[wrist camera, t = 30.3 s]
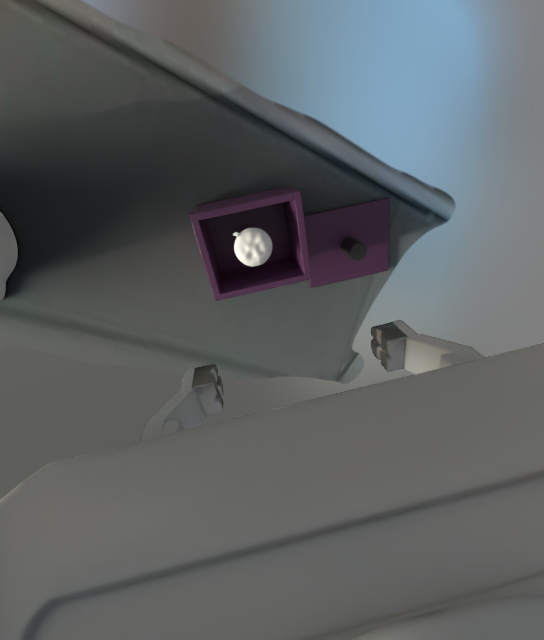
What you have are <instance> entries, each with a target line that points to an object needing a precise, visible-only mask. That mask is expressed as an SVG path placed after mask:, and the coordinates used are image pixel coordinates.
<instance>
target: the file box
mask: <svg viewBox="0 0 544 640" xmlns="http://www.w3.org/2000/svg"><path fill="white" fill-rule="evenodd" d="M189 216H190V220H191V223H192V226H193V229H194V233H195V236H196V239H197V242H198V246H199V249H200V252H201V255H202V259H203V262H204V265H205V268H206V272H207V275H208V278H209V281H210V285H211V288H212V291H213V294H214V298H215V301H218V300H222V299H227V298H231V297H235V296H240V295H244V294H249V293H253V292H257V291H262V290H266V289H271V288H275V287H279V286H284V285H288V284H293V283H297V282H301V281H305V280H310V279H311V272H310V264H309V255H308V247H307V239H306V231H305V222H304V214H303V206H302V198H301V191H299V190H295V189H292V188H288V187H282V188H277V189H273V190H268V191H263V192H258V193H254V194H249V195H244V196H240V197H235V198H230V199H226V200H221V201H216V202H211V203H207V204H202V205H197V206H196V207H195V208H194V209H193V211H192V212H191V213H190V214H189ZM245 223H253V224H254V225H256V226H257V227H258V228H260V229H262V230H263V231H265V232H266V233H267V234H268V235H269V237H270V238H271V241H272V252H271V255H270V257H269V258H268V260H267V261H266V262H265V263H263V264H261V265H258V266H253V267H251V266H247V265H245V264H243V263H242V262H241V261H240V260H239V259H238V258H237V256H236V254H235V251H234V243H235V240H236V236H233V233H234V232H238V230H239V227H240V226H241V225H243V224H245Z"/></svg>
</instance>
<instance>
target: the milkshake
mask: <svg viewBox="0 0 544 640" xmlns="http://www.w3.org/2000/svg"><path fill="white" fill-rule="evenodd" d="M233 236H236V240H235V243H234V251H235V254H236V256H237V258H238V259H239V260H240V261H241V262H242V263H243V264H245V265H247V266H251V267H253V266H258V265H261V264H263V263H265V262H266V261H267V260H268V258H269V257H270V255H271V252H272V241H271V238H270V237H269V235H268V234H267V233H266V232H265V231H263V230H262V229H260V228H258V227H257V226H256V225H254V224H253V223H245V224H243V225H241V226H240V227H239V230H238V232H234V233H233Z"/></svg>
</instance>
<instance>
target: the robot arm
mask: <svg viewBox="0 0 544 640" xmlns="http://www.w3.org/2000/svg"><path fill="white" fill-rule="evenodd" d="M17 257H18V247H17V242H16V238H15V235H14V233H13V230H12V228H11V226H10V225H9V223H8V221H7V220H6V218H5V217H4V215H3V214H2V213H1V212H0V300H2V299H3V298H4V296H5V291H6V280H7V278H8V277H9V275H10V274H11V273H12V271H13V270H14V268H15V265H16V262H17ZM371 335H372V336H373V337H374V338H373V339H372V341H371V348H372V351H373V354H374V355H375V357H376V358H377V359H379V360H381V364H382V366H383V367H384V368H385V369H386V371H387V372H389V371H394V370H399V369H403V368H404V369H405V370H407V371H409V372H411V373H413V374H414V375H410V376H406V377H402V378H398V379H394V380H390V381H385V382H382V383H378V384H373V385H369V386H365V387H361V388H357V389H353V390H348V391H344V392H340V393H336V394H332V395H328V396H324V397H320V398H316V399H311V400H307V401H303V402H300V403H295V404H291V405H287V406H283V407H278V408H275V409H270V410H266V411H262V412H258V413H254V414H250V415H246V416H241V417H238V418H233V419H229V420H225V421H221V422H217V423H213V424H208V425H204V426H201V425H202V423H203V422H204V420H205V419H206V416H209V415H213V414H216V413H220V412H223V399H222V396H223V385H222V381H221V378H220V377H219V376H218V369H217V367H216V365H215V364H211V365H206V366H202V367H197V368H192V369H188V370H185V372H184V376H183V381H182V386H181V391H180V392H177V393H176V394H175V395H174V396H173V397H172V398H171V399H170V400H169V401H168V402H167V403H166V404H165V405H164V406H163V407H162V408H161V409H160V410H159V411H158V412H157V414H155V415H154V416H153V417H152V418H151V419H150V420H149V421H148V422H147V423H146V424H145V425H144V428H143V432H142V435H141V438H140V441H138V442H134V443H130V444H126V445H122V446H118V447H114V448H110V449H106V450H101V451H98V452H93V453H89V454H85V455H81V456H77V457H72V458H68V459H63V460H59V461H56V462H52V463H49V464H47V465H45V466H43V467H42V468H41V469H39V470H38V471H36V472H35V473H34V474H32V475H31V476H29V477H28V478H27V479H25V480H24V481H23V482H22V483H20V484H19V485H18V486H17V487H16V488H14V489H13V490H12V491H10V492H9V493H8V494H7V495H5V496H4V497H3V498H2V499H1V500H0V640H544V343H542V344H538V345H534V346H529V347H526V348H521V349H517V350H513V351H509V352H505V353H501V354H497V355H493V356H488V357H484V356H483V355H481V354H480V353H479V352H477V351H476V350H475V349H473V348H472V347H469V346H466V345H462V344H458V343H454V342H450V341H446V340H442V339H439V338H435V337H431V336H427V335H423V334H420V335H419V334H418V333H416V332H415V331H414V330H413V329H412V328H410V327H409V326H408V325H407V324H406V323H405V322H403V321H402V320H397V321H393V322H390V323H387V324H383V325H379V326H375V327H372V328H371Z"/></svg>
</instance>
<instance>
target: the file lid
mask: <svg viewBox="0 0 544 640" xmlns="http://www.w3.org/2000/svg"><path fill="white" fill-rule="evenodd" d="M389 203H390V198H384V199H380V200H375V201H370V202H366V203H361V204H357V205H352V206H347V207H343V208H338V209H333V210H329V211H324V212H320V213H315V214H310V215H306V216H304V222H305V231H306V239H307V247H308V255H309V264H310V272H311V279H310V280H309V281H310V287H311V288H312V287H316V286H321V285H325V284H329V283H334V282H338V281H343V280H347V279H351V278H356V277H360V276H365V275H369V274H373V273H378V272H382V271H387V270H388V256H389Z"/></svg>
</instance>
